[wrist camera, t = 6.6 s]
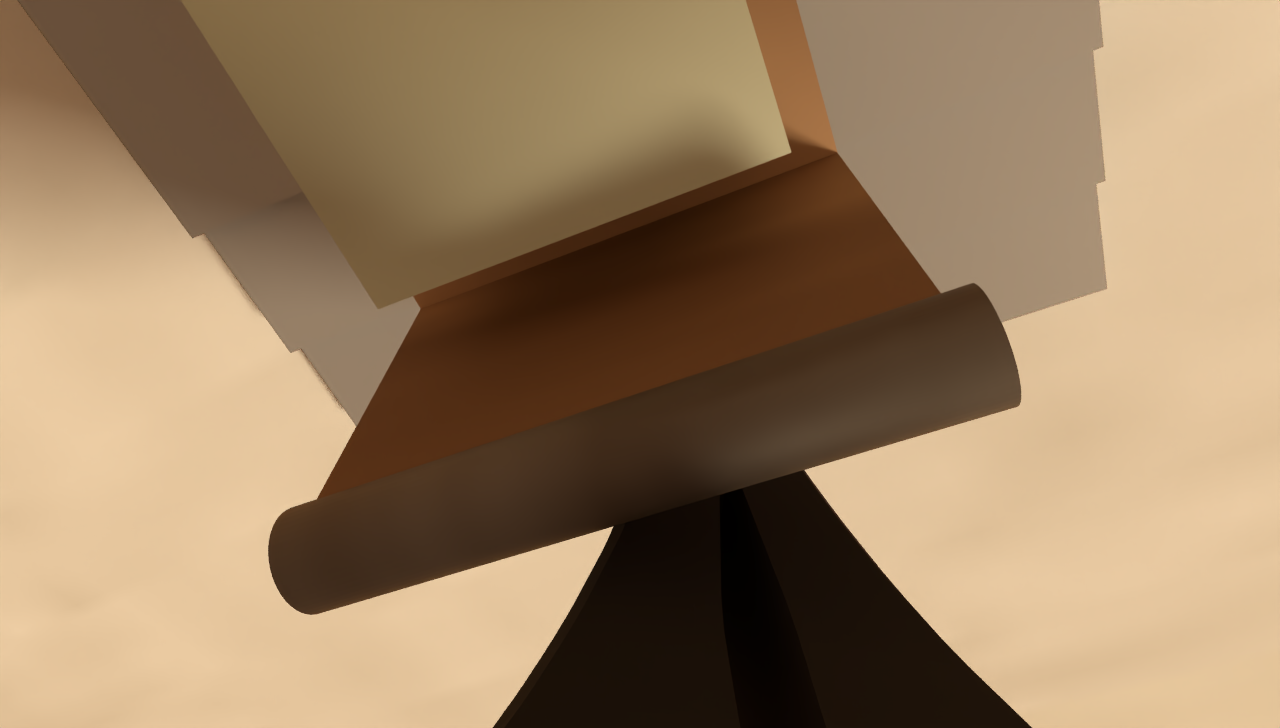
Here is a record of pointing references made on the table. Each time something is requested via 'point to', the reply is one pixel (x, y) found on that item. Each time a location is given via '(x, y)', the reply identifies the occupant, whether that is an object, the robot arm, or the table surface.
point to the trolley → (588, 270)
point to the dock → (855, 104)
